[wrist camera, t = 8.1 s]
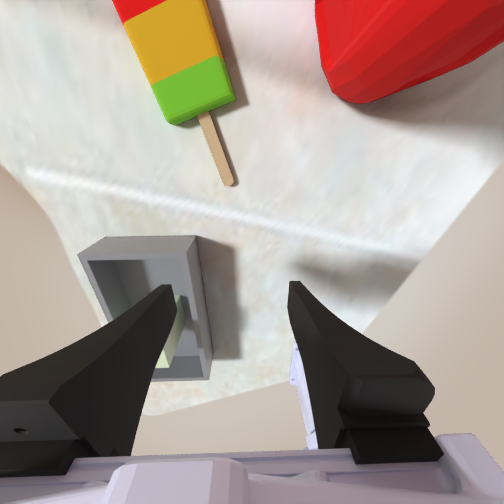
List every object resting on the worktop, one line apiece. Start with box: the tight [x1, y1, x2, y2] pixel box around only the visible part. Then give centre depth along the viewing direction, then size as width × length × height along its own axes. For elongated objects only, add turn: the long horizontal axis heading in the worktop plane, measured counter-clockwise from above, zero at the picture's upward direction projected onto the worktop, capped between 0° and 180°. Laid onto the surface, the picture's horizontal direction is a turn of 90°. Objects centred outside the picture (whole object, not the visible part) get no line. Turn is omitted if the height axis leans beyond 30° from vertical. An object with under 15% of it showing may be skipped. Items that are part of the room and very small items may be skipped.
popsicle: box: [112, 0, 236, 186], centre depth 15 cm, size 6×15×2 cm, turn 19°
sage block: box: [155, 295, 186, 368], centre depth 21 cm, size 4×4×6 cm
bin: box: [77, 235, 213, 382], centre depth 23 cm, size 18×9×4 cm, turn 1°
